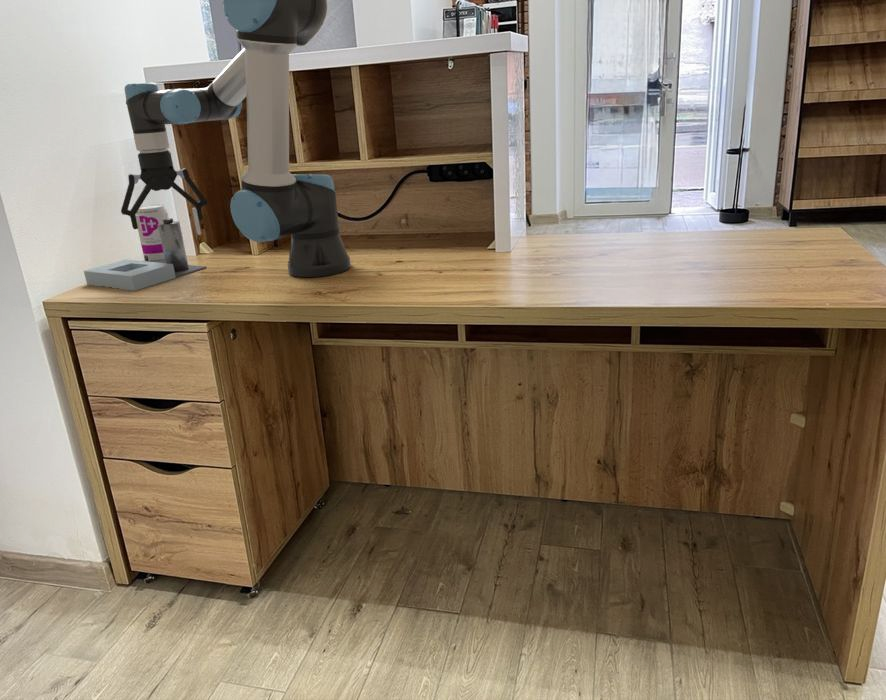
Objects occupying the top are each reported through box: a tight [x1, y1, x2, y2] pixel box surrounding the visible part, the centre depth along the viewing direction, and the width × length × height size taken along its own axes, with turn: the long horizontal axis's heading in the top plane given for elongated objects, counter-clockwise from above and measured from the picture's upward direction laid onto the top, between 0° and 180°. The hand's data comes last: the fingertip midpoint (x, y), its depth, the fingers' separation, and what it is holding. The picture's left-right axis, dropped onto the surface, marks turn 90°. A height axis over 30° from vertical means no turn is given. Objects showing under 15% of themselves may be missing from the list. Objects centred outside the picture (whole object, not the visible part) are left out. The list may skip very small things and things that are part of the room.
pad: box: [175, 264, 207, 279], centre depth 180 cm, size 10×10×1 cm
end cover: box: [158, 217, 189, 272], centre depth 178 cm, size 5×5×13 cm
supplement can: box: [135, 204, 170, 263], centre depth 190 cm, size 8×8×15 cm
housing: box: [83, 259, 176, 292], centre depth 173 cm, size 18×12×4 cm, turn 60°
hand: (171, 237), depth 177 cm, fingers open, 13 cm apart
